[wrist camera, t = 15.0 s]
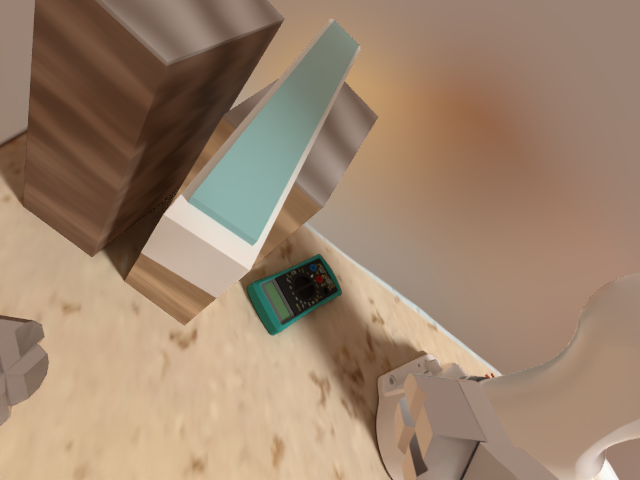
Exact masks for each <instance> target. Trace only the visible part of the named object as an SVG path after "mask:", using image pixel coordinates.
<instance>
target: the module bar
mask: <svg viewBox="0 0 640 480" xmlns="http://www.w3.org/2000/svg"><path fill="white" fill-rule="evenodd" d="M360 49H361V48H360V47H359V44H358V43H357V42H356V41H355V40H354V39H353V38H352V37H351V36H350V35H349V34H348V33H347V32H346V31H345V30H344V29H343V28H342V27H341V26H340V25H339V24H338V23H337V22H336V21H333V20H332V19H331V18H330V20H329V21H328V22H327V23H326V24H325V25H324V27H323V28H322V29H321V30H320V31H319V32H318V34H317V35H316V36H315V37H314V38H313V39H312V41H311V42H310V43H309V44H308V45H307V46H306V48H305V49H304V50H303V51H302V53H301V54H300V55H299V56H298V57H297V58H296V59H295V61H294V62H293V63H292V64H291V65H290V66H289V68H288V69H287V70H286V71H285V72H284V73H283V75H282V76H281V77H280V78H279V79H278V80H277V82H276V83H275V84H274V85H273V86H272V88H271V89H270V90H269V91H268V92H267V93H266V95H265V96H264V97H263V98H262V99H261V100H260V102H259V103H258V104H257V105H256V106H255V107H254V109H253V110H252V111H251V112H250V113H249V115H248V116H247V117H246V118H245V119H244V120H243V122H242V123H241V124H240V125H239V126H238V127H237V129H236V130H235V131H234V132H233V133H232V134H231V136H230V137H229V138H228V139H227V140H226V142H225V143H224V144H223V145H222V146H221V147H220V149H219V150H218V151H217V152H216V153H215V154H214V156H213V157H212V158H211V159H210V160H209V161H208V163H207V164H206V165H205V166H204V167H203V169H202V170H201V171H200V172H199V173H198V174H197V176H196V177H195V178H194V179H193V180H192V181H191V183H190V184H189V185H188V186H187V187H186V188H185V190H184V191H183V192H182V193H181V194H180V196H179V197H178V198H177V199H176V200H175V201H174V203H173V204H172V205H171V206H170V207H169V208H168V210H167V211H166V212H165V213H164V214H163V216H162V218H161V219H160V221H159V223H158V224H157V226H156V228H155V229H154V231H153V233H152V234H151V236H150V238H149V239H148V241H147V243H146V245H145V246H144V248H143V250H142V251H141V253H142V254H144V255H145V256H147V257H149V258H150V259H152V260H154V261H155V262H157V263H159V264H160V265H162V266H164V267H165V268H167V269H169V270H170V271H172V272H174V273H175V274H177V275H179V276H180V277H182V278H184V279H185V280H187V281H189V282H190V283H192V284H194V285H195V286H197V287H199V288H200V289H202V290H204V291H205V292H207V293H209V294H210V295H212V296H214V297H215V298H219V297H220V296H221V295H222V294H223V293H224V292H226V291H227V290H228V289H229V288H230V287H231V286H233V285H234V284H235V283H236V282H237V281H239V280H240V279H241V278H242V277H243V276H244V275H246V274H247V273H248V272H249V271H250V270H251V268H252V266H253V264H254V262H255V260H256V258H257V256H258V254H259V252H260V250H261V248H262V246H263V244H264V242H265V240H266V238H267V236H268V234H269V232H270V230H271V228H272V226H273V224H274V222H275V220H276V218H277V216H278V214H279V212H280V210H281V208H282V206H283V204H284V202H285V200H286V198H287V196H288V194H289V192H290V190H291V188H292V186H293V184H294V182H295V180H296V178H297V176H298V174H299V172H300V170H301V168H302V166H303V164H304V162H305V160H306V158H307V156H308V154H309V152H310V150H311V148H312V146H313V144H314V142H315V140H316V138H317V136H318V134H319V132H320V130H321V128H322V126H323V124H324V122H325V120H326V118H327V116H328V114H329V111H330V109H331V107H332V105H333V103H334V101H335V99H336V97H337V95H338V93H339V91H340V89H341V87H342V85H343V83H344V81H345V79H346V77H347V75H348V73H349V71H350V69H351V67H352V65H353V63H354V61H355V59H356V57H357V55H358V53H359V51H360Z"/></svg>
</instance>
